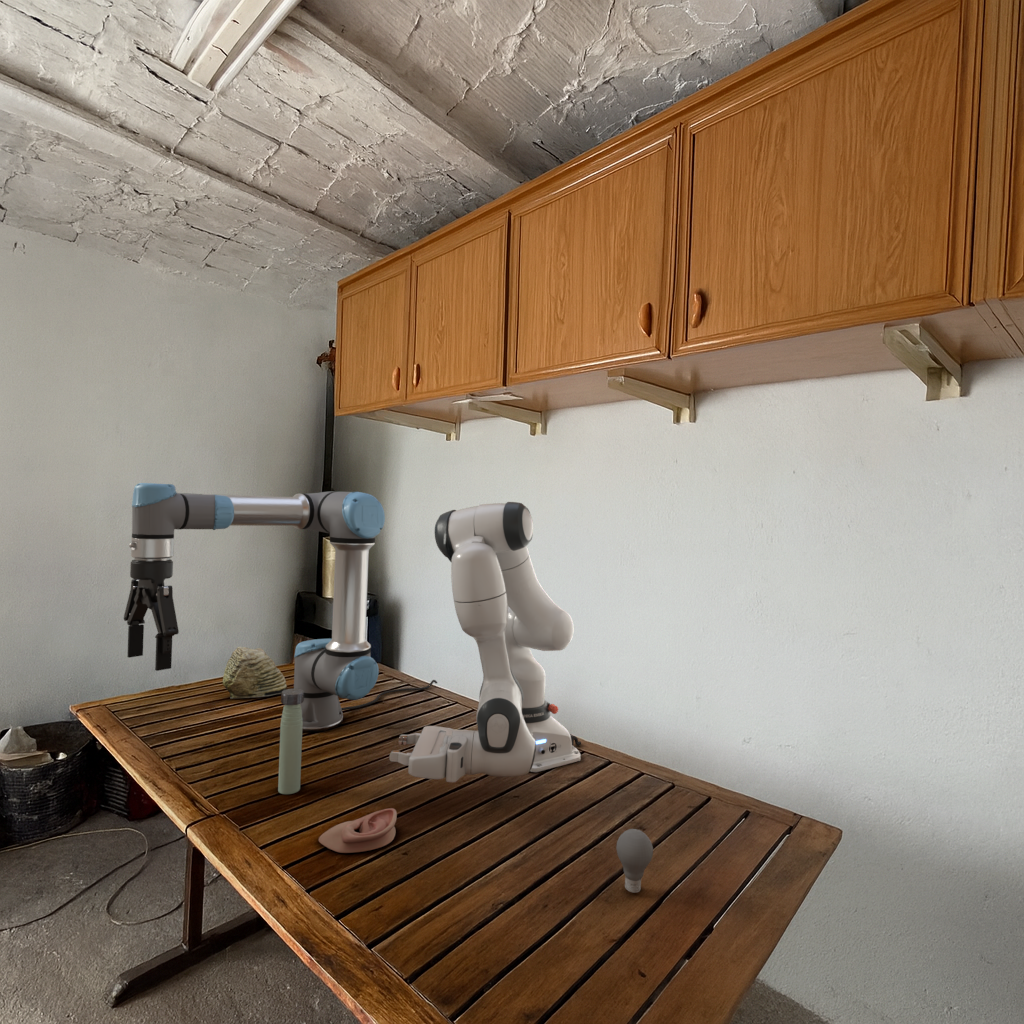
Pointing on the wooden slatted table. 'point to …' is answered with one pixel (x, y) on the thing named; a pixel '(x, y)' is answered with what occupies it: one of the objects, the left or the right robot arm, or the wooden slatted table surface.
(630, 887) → the light bulb
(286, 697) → the cap
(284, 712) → the bottle
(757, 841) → the wooden slatted table surface
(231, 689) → the fossil
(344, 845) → the anatomical model
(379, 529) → the left robot arm
